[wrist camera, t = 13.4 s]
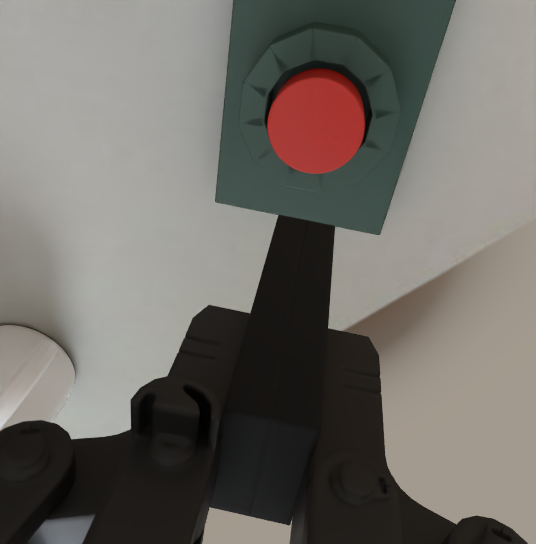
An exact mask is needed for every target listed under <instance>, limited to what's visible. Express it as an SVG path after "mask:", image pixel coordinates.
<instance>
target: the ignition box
mask: <svg viewBox="0 0 536 544" xmlns="http://www.w3.org/2000/svg"><path fill="white" fill-rule="evenodd" d="M455 2H456V0H234V1H233V12H232V23H231V34H230V45H229V55H228V66H227V77H226V88H225V99H224V110H223V121H222V132H221V142H220V153H219V164H218V175H217V186H216V197H215V202H217V203H222V204H227V205H232V206H237V207H241V208H246V209H251V210H256V211H261V212H266V213H271V214H276V215H284V216H289V217H294V218H299V219H304V220H309V221H314V222H319V223H324V224H329V225H334V226H336V227H341V228H346V229H351V230H356V231H361V232H366V233H371V234H376V235H380V233H381V230H382V227H383V224H384V221H385V218H386V215H387V212H388V209H389V206H390V203H391V199H392V196H393V193H394V190H395V187H396V184H397V181H398V178H399V175H400V172H401V169H402V165H403V162H404V159H405V156H406V153H407V150H408V147H409V144H410V141H411V138H412V135H413V132H414V128H415V125H416V122H417V119H418V116H419V113H420V110H421V107H422V104H423V101H424V98H425V94H426V91H427V88H428V85H429V82H430V79H431V76H432V73H433V70H434V67H435V64H436V61H437V57H438V54H439V51H440V48H441V45H442V42H443V39H444V36H445V33H446V30H447V27H448V23H449V20H450V17H451V14H452V11H453V8H454V5H455ZM313 68H325V69H330V70H334V71H336V72H339V73H341V74H342V75H344V76H345V77H347V78H348V79H349V80H350V81H351V82H352V83H353V84H354V85H355V87H356V88H357V89H358V91H359V93H360V95H361V98H362V101H363V105H364V117H365V131H364V136H363V140H362V143H361V145H360V147H359V149H358V150H357V152H356V153H355V155H354V156H353V157H352V158H351V159H350V160H349V161H348V162H347V163H346V164H344V165H343V166H341V167H339V168H338V169H336V170H333V171H330V172H326V173H319V174H312V173H305V172H301V171H299V170H296V169H294V168H292V167H290V166H289V165H287V164H286V163H285V162H284V161H282V160H281V159H280V158H279V156H278V155H277V154H276V152H275V151H274V149H273V147H272V145H271V143H270V140H269V136H268V129H267V122H268V115H269V111H270V109H271V106H272V104H273V102H274V100H275V98H276V96H277V94H278V92H279V90H280V89H281V87H282V86H283V85H284V84H285V83H286V81H288V80H289V79H290V78H291V77H292V76H294V75H296V74H297V73H299V72H302V71H304V70H308V69H313Z"/></svg>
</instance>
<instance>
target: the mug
mask: <svg viewBox="0 0 536 544" xmlns="http://www.w3.org/2000/svg"><path fill="white" fill-rule="evenodd" d="M74 384H75V371H74V367H73V365H72V362H71V360H70V359H69V357H68V355H67V354H66V353H65V351H64V350H63V349H62V348H61V347H60V346H59V345H58V344H57V343H55V342H54V341H53V340H52V339H50V338H48V337H47V336H45V335H43V334H42V333H40V332H37V331H35V330H32V329H29V328H26V327H22V326H16V325H1V326H0V431H1V430H3V429H4V428H6V427H9V426H12V425H14V424H17V423H20V422H23V421H35V420H43V421H47V422H51V423H53V421H54V420H55V418H56V417H57V415H58V413H59V412H60V410H61V409H62V407H63V405H64V404H65V402H66V401H67V399H68V397H69V396H70V394H71V392H72V389H73V387H74Z"/></svg>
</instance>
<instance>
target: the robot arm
mask: <svg viewBox="0 0 536 544" xmlns="http://www.w3.org/2000/svg"><path fill="white" fill-rule="evenodd" d="M334 233H335V226H334V225H329V224H324V223H319V222H314V221H309V220H304V219H299V218H294V217H289V216H284V215H278V219H277V222H276V226H275V229H274V233H273V236H272V240H271V243H270V247H269V250H268V254H267V257H266V261H265V264H264V268H263V271H262V275H261V278H260V282H259V285H258V289H257V292H256V296H255V299H254V303H253V306H252V310H251V313H245V312H240V311H235V310H231V309H226V308H221V307H216V306H212V305H208V306H207V307H206V308H204V309H203V310H202V311H201V312H200V313H198V314H197V315H196V316H195V317H193V319H192V322H191V324H190V326H189V328H188V331H187V333H186V336H185V338H184V340H183V342H182V344H181V347H180V349H179V353H178V354H177V356H176V358H175V360H174V363H173V365H172V367H171V369H170V372H169V374H168V376H167V377H163V378H159V379H154V380H153V381H151V382H149V383H148V384H146V385H144V386H143V387H141V388H140V389H139V390H138V391H137V393H136V394H135V395H134V397H133V398H132V399H131V430H128V431H126V432H123V433H120V434H118V435H112V436H107V437H97V438H84V439H71V438H70V436H69V433H68V432H67V431H65V430H64V429H63V428H62V427H60V426H59V425H58V424H55V423H51V422H47V421H43V420H35V421H23V422H20V423H17V424H14V425H12V426H9V427H6V428H4V429H3V430H1V431H0V544H202V541H203V534H204V527H205V523H206V519H207V514H208V511H209V507H211V508H216V509H220V510H225V511H229V512H234V513H238V514H242V515H246V516H251V517H255V518H260V519H264V520H268V521H273V522H278V523H282V524H286V525H290V523H291V520H292V528H291V538H290V544H527V542H526V541H525V540H523V539H522V538H521V537H520V536H519V535H518V534H517V533H516V532H515V531H514V530H513V529H511V528H510V527H508V526H506V525H504V524H502V523H500V522H498V521H496V520H495V519H492V518H486V517H481V516H473V517H469V518H465V519H462V520H461V521H460V522H459V523H458V524H457V525H456V524H454V523H453V522H451V521H449V520H447V519H445V518H443V517H441V516H440V515H438V514H436V513H434V512H432V511H431V510H428V509H427V508H425V507H423V506H422V505H420V504H419V503H417V502H416V501H414V500H413V499H411V498H410V497H409V496H408V495H407V494H406V493H405V492H404V491H403V490H402V489H401V488H400V487H399V486H398V484H397V483H396V481H395V479H394V478H393V476H392V475H391V473H390V471H389V469H388V466H387V462H386V457H385V445H384V431H383V413H382V397H381V381H380V364H379V355H378V353H377V351H376V349H375V348H374V346H373V344H372V342H371V341H370V339H369V337H366V336H362V335H357V334H352V333H348V332H343V331H338V330H333V329H328V320H329V305H330V291H331V277H332V262H333V248H334ZM292 517H293V519H292Z"/></svg>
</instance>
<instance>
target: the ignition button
mask: <svg viewBox="0 0 536 544" xmlns="http://www.w3.org/2000/svg"><path fill="white" fill-rule="evenodd" d="M267 129H268V136H269V140H270V143H271V145H272V147H273V149H274V151H275V152H276V154H277V155H278V156H279V158H280V159H281V160H282V161H284V162H285V163H286V164H287V165H289V166H290V167H292V168H294V169H296V170H299V171H301V172H305V173H312V174H319V173H326V172H330V171H333V170H336V169H338V168H339V167H341V166H343V165H344V164H346V163H347V162H348V161H349V160H350V159H351V158H352V157H353V156H354V155H355V153H356V152H357V150H358V149H359V147H360V145H361V143H362V140H363V136H364V131H365V117H364V105H363V101H362V98H361V95H360V93H359V91H358V89H357V88H356V87H355V85H354V84H353V83H352V82H351V81H350V80H349V79H348V78H347V77H345V76H344V75H342V74H341V73H339V72H336V71H334V70H330V69H325V68H313V69H308V70H304V71H302V72H299V73H297V74H296V75H294V76H292V77H291V78H290V79H289V80H288V81H286V83H285V84H284V85H283V86H282V87H281V89H280V90H279V92H278V94H277V96H276V98H275V100H274V102H273V104H272V106H271V109H270V111H269V115H268V122H267Z"/></svg>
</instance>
